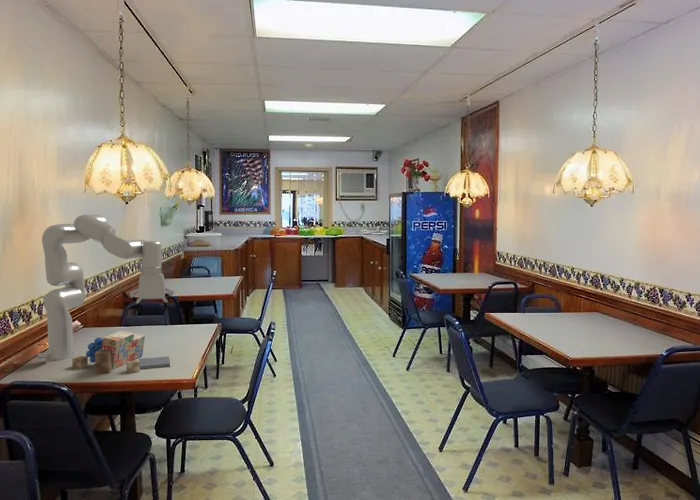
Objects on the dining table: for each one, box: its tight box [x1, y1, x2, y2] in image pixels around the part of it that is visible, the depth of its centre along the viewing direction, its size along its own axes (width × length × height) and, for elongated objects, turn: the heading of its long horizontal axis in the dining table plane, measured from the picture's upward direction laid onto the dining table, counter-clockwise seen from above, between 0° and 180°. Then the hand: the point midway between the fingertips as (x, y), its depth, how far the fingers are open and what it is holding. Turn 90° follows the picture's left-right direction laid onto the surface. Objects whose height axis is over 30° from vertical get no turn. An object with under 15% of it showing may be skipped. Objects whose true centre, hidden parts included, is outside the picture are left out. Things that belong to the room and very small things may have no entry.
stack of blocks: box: [101, 330, 146, 370], centre depth 228 cm, size 21×6×12 cm, turn 169°
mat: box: [138, 355, 171, 370], centre depth 225 cm, size 12×12×1 cm
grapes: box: [85, 337, 103, 364], centre depth 225 cm, size 12×7×12 cm, turn 107°
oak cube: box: [71, 355, 89, 369], centre depth 221 cm, size 4×4×4 cm
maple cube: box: [125, 359, 141, 374], centre depth 215 cm, size 4×4×4 cm
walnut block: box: [94, 350, 113, 375], centre depth 214 cm, size 5×5×8 cm
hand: (151, 312), depth 224 cm, fingers open, 9 cm apart
